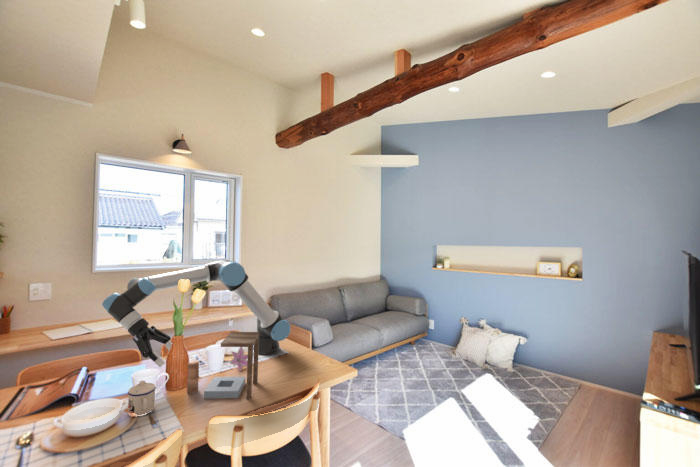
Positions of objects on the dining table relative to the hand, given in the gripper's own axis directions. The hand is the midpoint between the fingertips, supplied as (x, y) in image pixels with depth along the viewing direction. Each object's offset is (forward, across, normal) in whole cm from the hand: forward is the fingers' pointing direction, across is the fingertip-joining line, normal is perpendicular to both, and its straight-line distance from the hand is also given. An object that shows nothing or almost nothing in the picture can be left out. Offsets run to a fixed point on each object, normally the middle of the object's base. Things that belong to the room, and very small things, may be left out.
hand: (170, 358), depth 145 cm
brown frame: (+31, 0, +11) cm, 33 cm away
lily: (+27, -24, +7) cm, 37 cm away
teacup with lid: (+8, +18, -12) cm, 23 cm away
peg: (+17, 0, -3) cm, 17 cm away
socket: (+27, 0, +7) cm, 28 cm away
